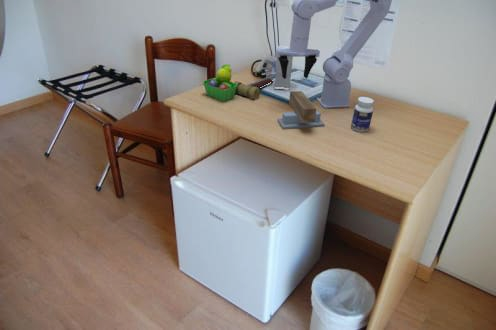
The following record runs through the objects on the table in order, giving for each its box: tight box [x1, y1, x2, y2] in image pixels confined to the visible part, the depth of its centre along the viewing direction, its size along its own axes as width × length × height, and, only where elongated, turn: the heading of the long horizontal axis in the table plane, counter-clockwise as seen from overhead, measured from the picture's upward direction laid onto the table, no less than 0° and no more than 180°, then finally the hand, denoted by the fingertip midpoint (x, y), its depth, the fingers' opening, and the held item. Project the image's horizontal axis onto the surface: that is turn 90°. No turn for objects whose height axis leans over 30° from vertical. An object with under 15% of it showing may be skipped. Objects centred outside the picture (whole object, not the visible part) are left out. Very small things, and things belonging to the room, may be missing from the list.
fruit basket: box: [202, 63, 238, 102], centre depth 145 cm, size 11×9×11 cm
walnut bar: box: [288, 90, 317, 123], centre depth 129 cm, size 4×14×4 cm, turn 12°
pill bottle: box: [350, 96, 374, 133], centre depth 127 cm, size 6×6×10 cm
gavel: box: [233, 78, 274, 101], centre depth 155 cm, size 21×5×10 cm
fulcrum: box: [277, 110, 326, 130], centre depth 130 cm, size 14×6×4 cm, turn 102°
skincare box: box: [273, 45, 293, 89], centre depth 154 cm, size 8×6×15 cm
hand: (294, 77), depth 138 cm, fingers open, 7 cm apart
